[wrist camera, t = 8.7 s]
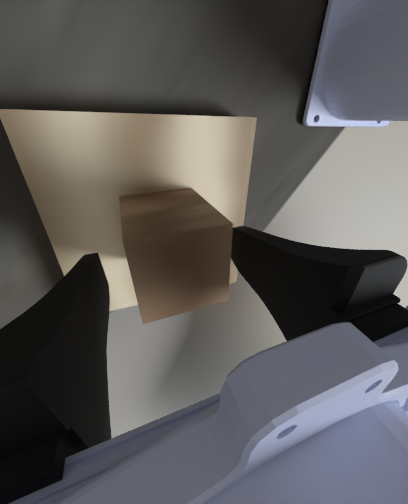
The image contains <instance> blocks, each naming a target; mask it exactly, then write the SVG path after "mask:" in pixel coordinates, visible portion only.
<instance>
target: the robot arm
mask: <svg viewBox="0 0 408 504" xmlns="http://www.w3.org/2000/svg"><path fill="white" fill-rule="evenodd" d="M315 116H316V119H315V121H314V117H315ZM390 121H408V0H329V1H328V6H327V11H326V15H325V20H324V25H323V29H322V34H321V38H320V43H319V48H318V52H317V57H316V61H315V66H314V71H313V75H312V80H311V84H310V89H309V94H308V98H307V103H306V108H305V112H304V117H303V124H304V125H305V126H346V127H351V126H353V127H354V126H355V127H386V126H387V125H388V124H389V123H390ZM231 259H232V261H233V263H234V265H235V266H236V268H237V270H238V271H239V272H240V274H241V275H242V276H243V277H244V278H245V280H246V281H247V282H248V283H249V285H251V287H252V288H253V289H254V291H255V292H256V293H257V294H258V295H259V297H260V298H261V300H262V301H263V302H264V304H265V305H266V307H267V308H268V310H269V311H270V313H271V315H272V316H273V318H274V320H275V321H276V323H277V324H278V326H279V328H280V330H281V331H282V333H283V335H284V337H285V339H286V340H287V342H284V343H282V344H279V345H276V346H274V347H271V348H269V349H266V350H263V351H260V352H258V353H256V354H255V355H253V356H251V357H249V358H247V359H245V360H243V361H242V362H240V363H239V364H238V365H237V366H236V367H235V368H234V369H233V370H232V371H231V372H230V373H229V374H228V375H227V377H226V380H225V382H224V384H223V386H222V389H221V392H220V393H219V394H217V395H214V396H212V397H210V398H207V399H205V400H203V401H200V402H198V403H195V404H193V405H191V406H188V407H186V408H183V409H181V410H179V411H176V412H174V413H171V414H169V415H167V416H164V417H162V418H160V419H157V420H155V421H152V422H150V423H148V424H145V425H143V426H141V427H138V428H136V429H133V430H131V431H128V432H126V433H124V434H121V435H119V436H117V437H114V438H112V439H111V428H110V415H109V400H108V380H107V356H106V346H107V332H108V320H109V308H110V294H109V284H108V281H107V278H106V275H105V272H104V269H103V266H102V263H101V260H100V257H99V254H98V252H97V253H92V254H86V255H84V256H82V258H81V259H80V260H79V261H78V262H77V263H76V264H75V265H74V266H73V268H72V269H71V270H70V271H69V272H68V273H67V274H66V275H65V276H64V277H63V278H62V279H61V280H60V281H59V282H58V283H57V284H56V285H55V286H54V287H53V288H52V289H51V290H50V291H49V292H48V293H47V294H46V295H45V296H44V297H43V298H41V299H40V300H39V301H38V302H37V303H35V304H34V305H33V306H32V307H30V308H29V309H28V310H27V311H25V312H24V313H23V314H21V315H20V316H19V317H17V318H16V319H14V320H13V321H11V322H10V323H9V324H7V325H6V326H4V327H3V328H2V329H0V504H408V306H407V307H406V308H404V307H402V306H401V305H399V304H397V303H399V302H400V299H399V298H398V297H397V296H395V295H394V294H393V293H394V291H395V289H396V288H397V286H398V284H399V283H400V281H401V279H402V278H403V276H404V274H405V272H406V269H407V260H406V259H405V257H403V256H401V255H398V254H396V253H394V252H392V251H388V250H353V249H340V248H330V247H322V246H315V245H310V244H304V243H300V242H295V241H291V240H288V239H284V238H280V237H277V236H274V235H271V234H268V233H265V232H262V231H258V230H255V229H252V228H249V227H245V226H238V227H233V233H232V248H231Z"/></svg>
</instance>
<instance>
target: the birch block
mask: <svg viewBox="0 0 408 504" xmlns="http://www.w3.org/2000/svg"><path fill="white" fill-rule="evenodd" d="M0 119H1V121H2V124H3V126H4V129H5V131H6V134H7V136H8V138H9V141H10V143H11V146H12V148H13V151H14V153H15V156H16V158H17V161H18V163H19V166H20V168H21V171H22V173H23V175H24V178H25V180H26V183H27V185H28V188H29V190H30V193H31V195H32V198H33V200H34V203H35V205H36V208H37V210H38V212H39V215H40V217H41V220H42V222H43V225H44V227H45V230H46V232H47V235H48V237H49V240H50V242H51V244H52V247H53V249H54V252H55V254H56V257H57V259H58V262H59V264H60V267H61V269H62V272H63V274H64V276H65V275H66V274H67V273H68V272H69V271H70V270H71V269H72V268H73V266H74V265H75V264H76V263H77V262H78V261H79V260H80V259H81V258H82V256H84V255H86V254H92V253H97V252H98V254H99V257H100V260H101V263H102V266H103V269H104V272H105V275H106V278H107V281H108V284H109V294H110V308H109V311H113V310H118V309H122V308H126V307H131V306H135V305H138V302H137V298H136V294H135V290H134V286H133V282H132V278H131V274H130V270H129V266H128V262H127V258H126V253H125V249H124V245H123V239H122V226H121V214H120V201H119V196H124V195H133V194H142V193H151V192H160V191H169V190H178V189H187V188H192V189H193V190H195V191H196V192H197V193H198V194H199V195H200V196H202V197H203V198H204V199H205V200H206V201H207V202H209V203H210V204H211V205H212V206H213V207H214V208H216V209H217V210H218V211H219V212H220V213H221V214H222V215H224V216H225V217H226V218H227V219H228V220H229V221H231V222H232V223H233V227H238V226H243V224H244V216H245V208H246V200H247V192H248V184H249V176H250V168H251V160H252V152H253V144H254V136H255V128H256V120H257V117H228V116H197V115H167V114H136V113H105V112H75V111H44V110H14V109H0ZM237 272H238V270H237V268H236V266H235V265H234V263H233V261H232V259H231V264H230V279H229V284H230V283H234V282H236V279H237Z"/></svg>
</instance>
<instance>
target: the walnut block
mask: <svg viewBox="0 0 408 504" xmlns="http://www.w3.org/2000/svg"><path fill="white" fill-rule="evenodd" d="M119 201H120V214H121V226H122V239H123V245H124V249H125V253H126V258H127V262H128V266H129V270H130V274H131V278H132V282H133V286H134V290H135V294H136V298H137V302H138V306H139V310H140V314H141V318H142V322H143V324H145V323H149V322H152V321H156V320H160V319H163V318H167V317H170V316H174V315H177V314H181V313H184V312H188V311H192V310H195V309H199V308H202V307H206V306H209V305H213V304H216V303H220V302H223V301H227V300H228V294H229V279H230V264H231V248H232V233H233V223H232V222H231V221H229V220H228V219H227V218H226V217H225V216H224V215H222V214H221V213H220V212H219V211H218V210H217V209H216V208H214V207H213V206H212V205H211V204H210V203H209V202H207V201H206V200H205V199H204V198H203V197H202V196H200V195H199V194H198V193H197V192H196V191H195V190H193V189H192V188H187V189H178V190H169V191H160V192H151V193H142V194H133V195H124V196H119Z"/></svg>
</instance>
